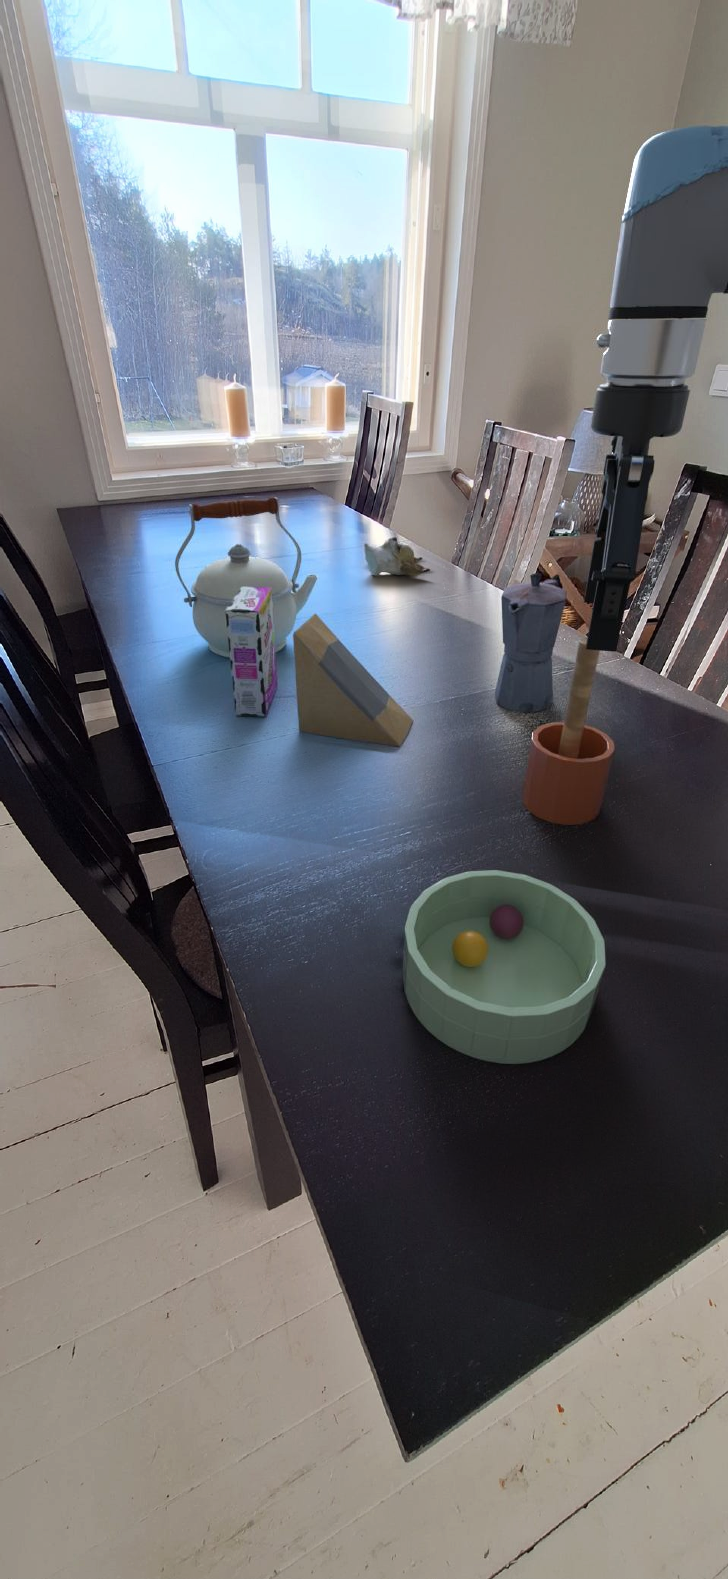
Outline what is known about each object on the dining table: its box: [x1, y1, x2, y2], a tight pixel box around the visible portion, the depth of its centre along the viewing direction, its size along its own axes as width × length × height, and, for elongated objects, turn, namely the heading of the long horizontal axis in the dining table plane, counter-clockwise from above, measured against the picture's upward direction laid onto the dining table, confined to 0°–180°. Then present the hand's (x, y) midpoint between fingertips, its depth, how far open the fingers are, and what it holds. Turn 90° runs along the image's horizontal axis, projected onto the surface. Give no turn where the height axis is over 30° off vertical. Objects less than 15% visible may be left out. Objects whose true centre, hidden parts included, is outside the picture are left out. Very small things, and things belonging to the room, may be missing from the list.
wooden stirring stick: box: [558, 637, 601, 759], centre depth 77 cm, size 4×2×21 cm, turn 76°
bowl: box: [401, 869, 607, 1065], centre depth 60 cm, size 17×17×6 cm
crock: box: [521, 721, 615, 826], centre depth 81 cm, size 9×9×10 cm
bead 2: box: [489, 905, 524, 939], centre depth 65 cm, size 3×3×3 cm
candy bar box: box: [225, 587, 278, 718], centre depth 103 cm, size 11×5×16 cm, turn 177°
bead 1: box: [452, 931, 488, 967], centre depth 62 cm, size 3×3×3 cm
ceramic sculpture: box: [363, 536, 431, 576], centre depth 161 cm, size 11×9×15 cm
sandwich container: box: [292, 612, 414, 747], centre depth 97 cm, size 9×15×15 cm, turn 73°
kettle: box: [174, 496, 319, 659], centre depth 121 cm, size 25×18×25 cm
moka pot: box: [494, 572, 568, 713], centre depth 103 cm, size 10×15×20 cm, turn 145°
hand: (598, 624), depth 70 cm, fingers open, 13 cm apart
